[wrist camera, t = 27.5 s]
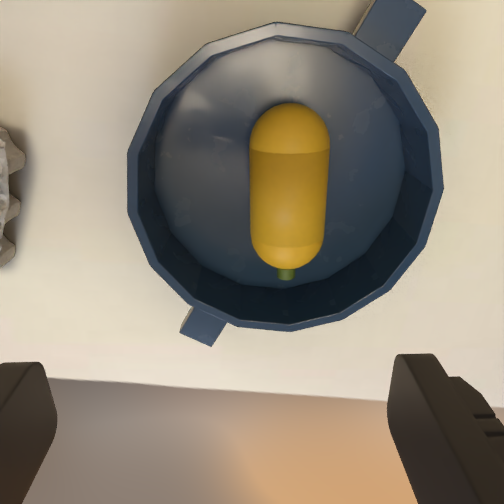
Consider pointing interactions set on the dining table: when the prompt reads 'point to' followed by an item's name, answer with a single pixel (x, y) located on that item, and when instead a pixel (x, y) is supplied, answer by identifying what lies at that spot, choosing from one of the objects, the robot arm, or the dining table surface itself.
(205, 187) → the pot
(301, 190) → the squash
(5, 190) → the egg carton
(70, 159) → the dining table surface
